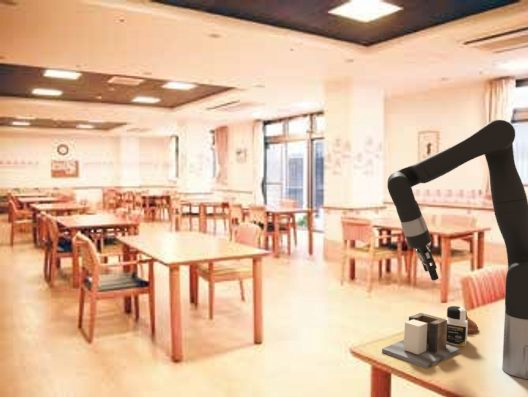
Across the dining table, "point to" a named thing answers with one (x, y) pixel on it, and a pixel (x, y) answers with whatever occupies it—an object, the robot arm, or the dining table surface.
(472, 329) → the bell
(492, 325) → the dining table surface
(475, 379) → the dining table surface
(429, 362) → the u-shaped block stand
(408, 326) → the peg
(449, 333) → the medicine bottle
